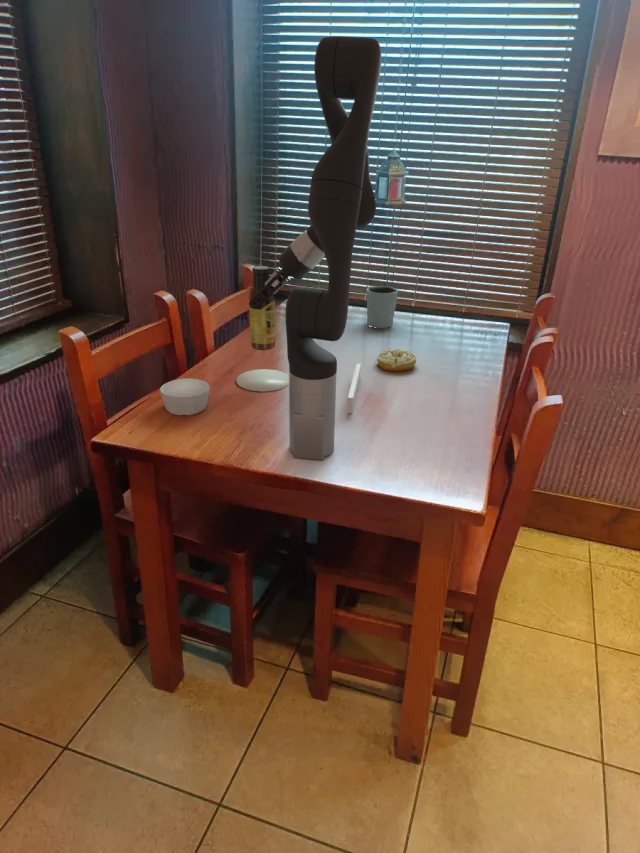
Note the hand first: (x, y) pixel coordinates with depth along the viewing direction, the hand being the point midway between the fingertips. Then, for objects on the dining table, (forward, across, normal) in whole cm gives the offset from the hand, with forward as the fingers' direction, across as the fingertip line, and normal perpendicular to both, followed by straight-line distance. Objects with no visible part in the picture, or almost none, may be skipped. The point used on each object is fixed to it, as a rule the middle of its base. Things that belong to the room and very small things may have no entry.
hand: (255, 302), depth 146 cm
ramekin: (+24, +19, +6) cm, 31 cm away
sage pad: (+13, 0, +16) cm, 21 cm away
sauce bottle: (+7, 0, +9) cm, 12 cm away
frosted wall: (-3, +4, +33) cm, 33 cm away
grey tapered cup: (-5, -54, +35) cm, 65 cm away
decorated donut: (-10, -18, +40) cm, 45 cm away
